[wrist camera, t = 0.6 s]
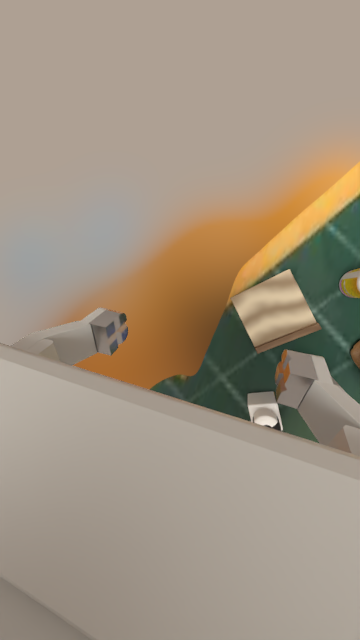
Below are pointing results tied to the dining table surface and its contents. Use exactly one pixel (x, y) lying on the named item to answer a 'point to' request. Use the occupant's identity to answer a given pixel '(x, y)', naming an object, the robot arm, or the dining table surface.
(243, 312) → the oak board
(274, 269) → the dining table surface
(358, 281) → the supplement bottle
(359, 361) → the brown boot planter
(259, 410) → the medicine bottle
